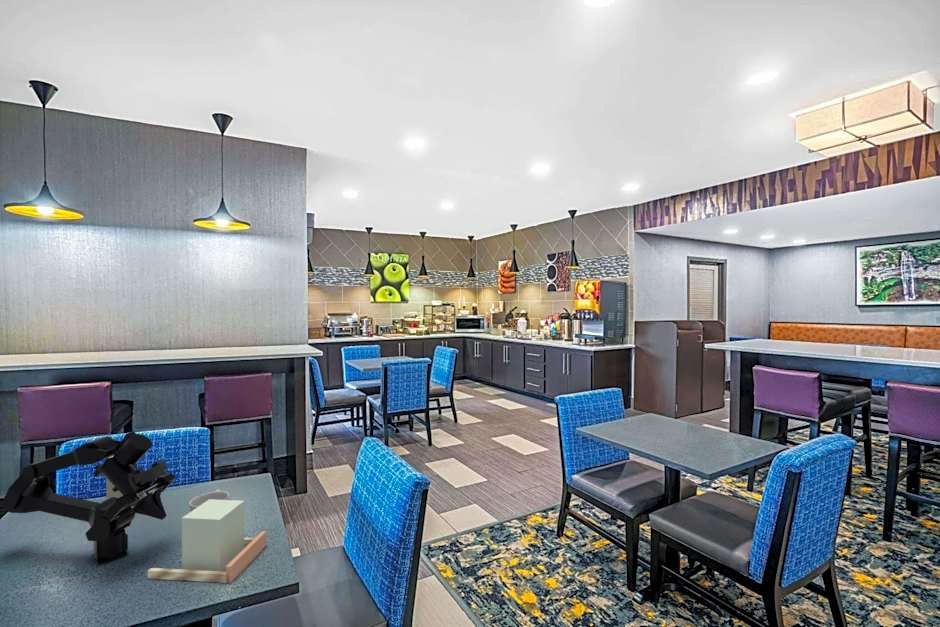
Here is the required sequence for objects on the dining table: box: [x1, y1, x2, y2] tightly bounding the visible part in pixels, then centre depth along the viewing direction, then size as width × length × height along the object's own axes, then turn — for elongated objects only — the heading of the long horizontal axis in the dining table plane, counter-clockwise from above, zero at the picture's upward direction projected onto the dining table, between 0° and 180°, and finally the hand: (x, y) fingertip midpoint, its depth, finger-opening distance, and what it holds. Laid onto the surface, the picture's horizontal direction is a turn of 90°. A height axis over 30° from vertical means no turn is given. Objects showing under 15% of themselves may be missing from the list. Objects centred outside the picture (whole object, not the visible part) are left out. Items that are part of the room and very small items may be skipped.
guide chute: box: [147, 530, 267, 584], centre depth 123 cm, size 21×17×4 cm
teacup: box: [188, 488, 230, 513], centre depth 145 cm, size 14×11×8 cm
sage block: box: [181, 499, 245, 572], centre depth 123 cm, size 10×11×14 cm
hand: (164, 517), depth 123 cm, fingers closed
